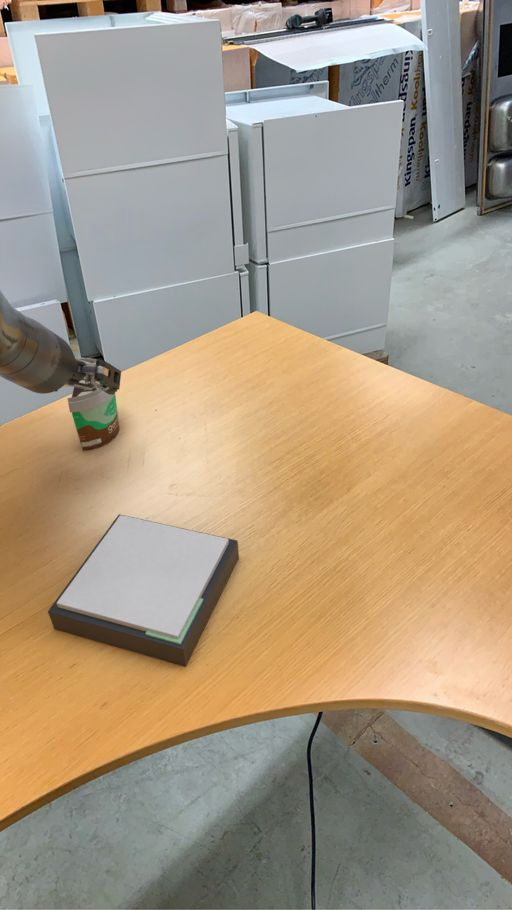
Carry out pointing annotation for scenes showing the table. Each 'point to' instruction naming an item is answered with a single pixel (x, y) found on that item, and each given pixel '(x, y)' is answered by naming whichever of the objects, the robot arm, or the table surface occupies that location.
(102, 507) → the table surface
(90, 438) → the food container
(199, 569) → the scale
